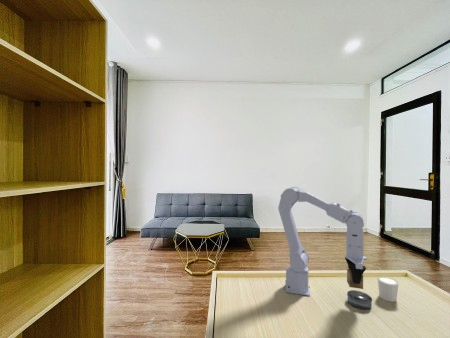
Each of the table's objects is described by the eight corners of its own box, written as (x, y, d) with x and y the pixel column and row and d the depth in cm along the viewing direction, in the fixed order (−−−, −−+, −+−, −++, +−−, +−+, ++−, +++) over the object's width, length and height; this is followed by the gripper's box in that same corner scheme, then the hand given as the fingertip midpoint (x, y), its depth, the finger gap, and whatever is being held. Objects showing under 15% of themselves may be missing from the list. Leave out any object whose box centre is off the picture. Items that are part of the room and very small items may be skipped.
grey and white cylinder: (402, 303, 87) (402, 285, 87) (382, 301, 88) (382, 283, 88) (392, 294, 94) (392, 277, 94) (374, 292, 95) (374, 275, 95)
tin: (349, 307, 85) (349, 299, 85) (345, 296, 92) (345, 288, 92) (374, 312, 82) (374, 304, 82) (368, 300, 90) (368, 292, 90)
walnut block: (349, 287, 85) (349, 273, 85) (347, 281, 89) (347, 268, 89) (363, 289, 84) (363, 275, 84) (359, 283, 88) (359, 270, 88)
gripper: (372, 252, 78) (372, 291, 78) (361, 240, 92) (361, 273, 92) (349, 250, 81) (349, 288, 80) (342, 238, 94) (342, 270, 94)
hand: (354, 280), depth 86 cm, fingers closed on walnut block, 4 cm apart
